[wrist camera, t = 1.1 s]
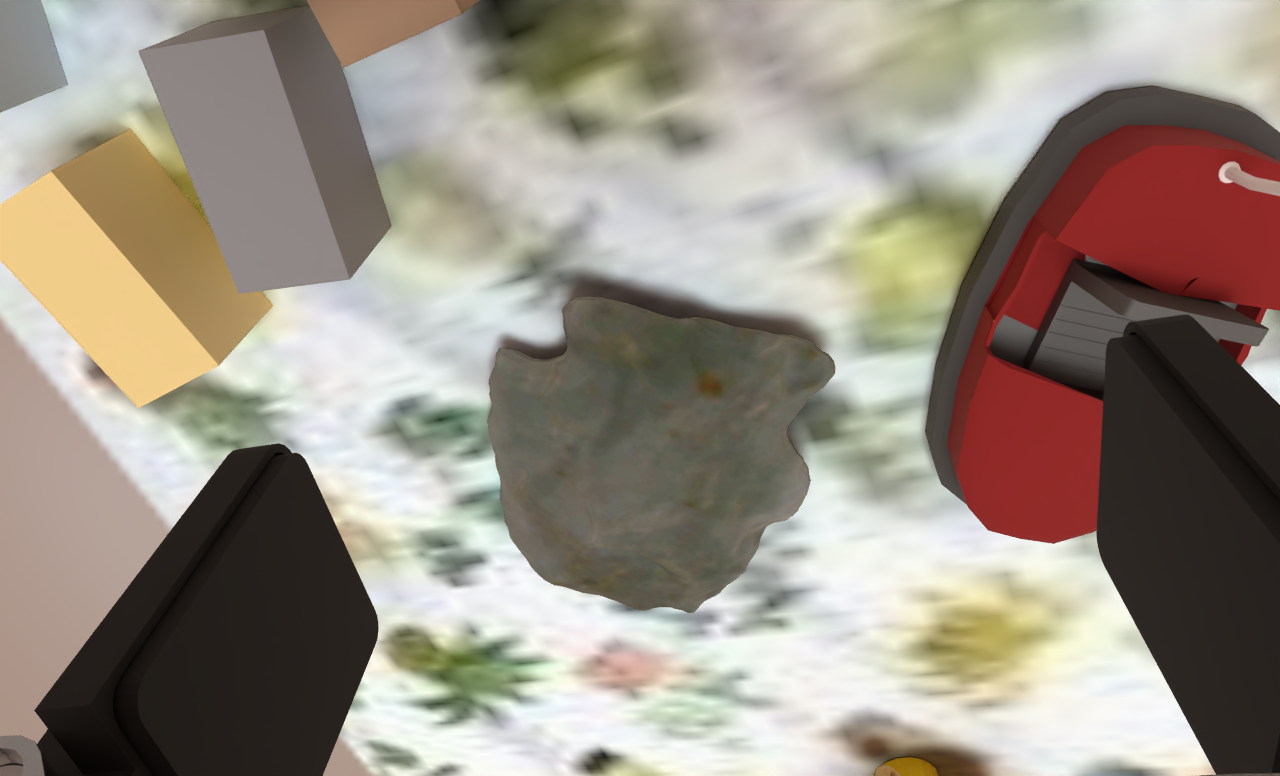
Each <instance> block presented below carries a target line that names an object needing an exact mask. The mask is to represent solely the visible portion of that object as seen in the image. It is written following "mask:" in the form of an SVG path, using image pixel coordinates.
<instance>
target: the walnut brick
mask: <svg viewBox="0 0 1280 776" xmlns="http://www.w3.org/2000/svg"><path fill="white" fill-rule="evenodd" d="M478 1H479V0H307V2H308V4H309V6H310V8H311V9H312V11H313V13H314V15H315V17H316V19H317V20H318V22H319V24H320V26H321V28H322V30H323V31H324V33H325V35H326V37H327V39H328V40H329V42H330V44H331V46H332V48H333V50H334V51H335V53H336V55H337V57H338V59H339V61H340V62H341V64H342V66H343V68H344V67H346V66H348V65H350V64H353V63H355V62H357V61H359V60H361V59H364V58H366V57H368V56H370V55H372V54H375V53H377V52H379V51H381V50H383V49H386V48H388V47H390V46H392V45H395V44H397V43H399V42H401V41H403V40H406V39H408V38H410V37H412V36H414V35H417V34H419V33H421V32H423V31H425V30H428V29H430V28H432V27H434V26H436V25H439V24H441V23H443V22H445V21H447V20H450V19H452V18H454V17H456V16H458V15H461V14H462V13H464V12H465V11H466V10H467V9H469V8H470V7H471V6H473V5H474V4H475V3H476V2H478Z"/></svg>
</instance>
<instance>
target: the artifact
mask: <svg viewBox="0 0 1280 776" xmlns="http://www.w3.org/2000/svg"><path fill="white" fill-rule="evenodd" d="M562 313H563V327H564V331H565V334H566V339H567V350H566V352H565V353H564V354H563V355H562V356H558V357H555V358H551V359H537V358H532V357H530V356H528V355H526V354H523V353H521V352H519V351H517V350H515V349H504V348H500V349H499V351H498V352H497V354H496V365H495V367H494V369H493V371H492V373H491V376H490V379H489V385H490V393H489V395H490V399H491V401H492V408H491V411H490V415H489V418H488V421H487V422H488V429H489V434H490V438H491V442H492V446H493V450H494V452H495V461H496V467H497V470H498V473H499V475H500V480H501V494H500V501H501V503H502V505H503V507H504V516H505V523H506V525H507V527H508V530H509V534H510V538H511V539H512V541H513V542H514V543H515V545H516V546H517V547H518V549H519V550H520V551H521V553H522V554H523V555H524V557H525V558H526V559H527V561H528V562H529V564H530V566H531V567H532V568H533V569H534V571H535V572H537V573H538V574H539V575H540V576H541V577H542V578H543V579H544V580H546V581H547V582H549V583H551V584H553V585H557V586H563V587H567V588H570V589H573V590H576V591H579V592H582V593H588V594H595V595H600V596H603V597H606V598H609V599H612V600H615V601H618V602H620V603H622V604H624V605H627V606H630V607H632V608H635V609H638V610H649V609H652V608H656V607H672V608H675V609H679V610H683V611H685V612H687V613H694V612H695V611H696V610H697V609H698V608H699V606H700V605H701V604H702V603H703V602H704V601H706V600H707V599H709V598H711V597H714V596H716V595H717V594H719V593H720V592H721V591H722V589H723V588H725V587H726V585H728V584H729V583H731V582H733V581H734V580H736V579H737V578H738V577H739V576H740V575H741V574H743V573H744V572H745V571H746V567H747V565H748V563H749V562H750V560H751V559H752V557H753V556H754V554H755V552H756V551H757V549H758V546H759V542H760V538H761V536H762V534H763V532H764V530H765V528H766V527H767V526H768V525H770V524H772V523H774V522H781V521H785V520H787V519H789V518H790V517H791V516H793V515H794V514H795V513H796V512H797V511H798V509H799V507H800V506H801V504H802V503H803V500H804V498H805V496H806V494H807V492H808V489H809V485H810V481H811V480H810V476H809V469H808V466H807V465H806V463H805V462H804V460H803V458H802V457H801V456H800V455H799V454H798V453H797V451H796V450H795V448H794V447H793V445H792V444H791V442H790V440H789V439H788V436H787V430H788V425H789V423H790V422H791V421H792V420H793V419H794V418H795V416H796V415H797V413H798V412H799V411H800V409H801V408H802V407H803V406H804V405H805V404H806V402H807V400H808V399H809V398H810V397H811V396H812V395H813V394H814V393H816V392H817V391H819V390H820V389H822V388H823V387H824V386H825V385H826V384H827V383H828V381H829V380H830V379H831V378H832V377H833V375H834V374H835V364H834V361H833V359H832V358H831V357H830V356H829V354H827V353H825V352H823V351H822V350H820V349H818V348H817V347H816V346H815V345H814V343H813V342H812V341H810V340H808V339H805V338H802V337H798V336H795V335H792V334H780V335H776V334H773V333H770V332H767V331H764V330H757V329H750V328H744V327H737V326H732V325H729V324H725V323H722V322H719V321H716V320H713V319H708V318H702V317H692V318H683V319H679V318H672V317H668V316H665V315H661V314H658V313H655V312H652V311H649V310H646V309H643V308H641V307H638V306H635V305H632V304H628V303H624V302H620V301H616V300H613V299H609V298H602V297H588V296H585V297H578V298H576V299H574V300H571V301H570V302H569V304H568V305H566V306H565V307H564V308H563V309H562Z"/></svg>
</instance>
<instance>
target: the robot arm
mask: <svg viewBox="0 0 1280 776" xmlns="http://www.w3.org/2000/svg"><path fill="white" fill-rule="evenodd" d="M1097 543H1098V548H1099V553H1100V556H1101V559H1102V562H1103V564H1104V566H1105V568H1106V570H1107V572H1108V574H1109V575H1110V577H1111V579H1112V581H1113V583H1114V585H1115V587H1116V588H1117V590H1118V592H1119V594H1120V596H1121V598H1122V600H1123V602H1124V603H1125V605H1126V607H1127V609H1128V611H1129V613H1130V615H1131V616H1132V618H1133V620H1134V622H1135V624H1136V626H1137V628H1138V630H1139V631H1140V633H1141V635H1142V637H1143V639H1144V641H1145V643H1146V644H1147V646H1148V648H1149V650H1150V652H1151V654H1152V656H1153V657H1154V659H1155V661H1156V663H1157V665H1158V667H1159V669H1160V671H1161V672H1162V674H1163V676H1164V678H1165V680H1166V682H1167V684H1168V685H1169V687H1170V689H1171V691H1172V693H1173V695H1174V697H1175V698H1176V700H1177V702H1178V704H1179V706H1180V708H1181V710H1182V712H1183V713H1184V715H1185V717H1186V719H1187V721H1188V723H1189V725H1190V726H1191V728H1192V730H1193V732H1194V734H1195V736H1196V738H1197V739H1198V741H1199V743H1200V745H1201V747H1202V749H1203V751H1204V753H1205V754H1206V756H1207V758H1208V760H1209V762H1210V764H1211V766H1212V767H1213V769H1214V771H1215V773H1216V775H1201V776H1280V405H1279V404H1278V403H1277V402H1276V401H1275V400H1274V399H1273V398H1272V397H1271V396H1270V395H1269V394H1268V393H1267V392H1266V391H1265V390H1264V389H1263V388H1262V387H1261V386H1260V385H1259V383H1258V382H1257V381H1256V380H1255V379H1254V378H1253V377H1252V376H1251V375H1250V374H1249V373H1248V372H1247V371H1246V370H1245V369H1244V368H1243V367H1242V366H1241V365H1240V364H1239V363H1238V362H1237V361H1236V360H1235V359H1234V358H1233V357H1232V356H1231V355H1230V354H1229V353H1228V352H1227V351H1226V350H1225V349H1224V348H1223V347H1222V346H1221V345H1220V344H1219V343H1218V342H1217V341H1216V340H1215V339H1214V338H1213V337H1212V336H1211V335H1210V334H1209V333H1208V332H1207V331H1206V330H1205V329H1204V328H1203V327H1202V326H1201V325H1200V324H1199V323H1198V322H1197V321H1196V320H1195V319H1194V318H1193V317H1191V316H1190V315H1189V314H1183V315H1176V316H1169V317H1162V318H1155V319H1148V320H1141V321H1134V322H1129V323H1128V324H1127V325H1126V327H1125V330H1124V332H1123V337H1116V338H1111V339H1110V340H1109V341H1108V344H1107V348H1106V360H1105V379H1104V398H1103V417H1102V436H1101V455H1100V474H1099V493H1098V512H1097ZM377 638H378V619H377V614H376V612H375V609H374V607H373V605H372V602H371V600H370V598H369V596H368V594H367V592H366V589H365V587H364V585H363V583H362V581H361V579H360V576H359V574H358V572H357V570H356V568H355V566H354V563H353V561H352V559H351V557H350V555H349V553H348V550H347V548H346V546H345V544H344V542H343V540H342V538H341V535H340V533H339V531H338V529H337V527H336V525H335V522H334V520H333V518H332V516H331V514H330V512H329V509H328V507H327V505H326V503H325V501H324V499H323V496H322V494H321V492H320V490H319V488H318V486H317V483H316V481H315V479H314V477H313V475H312V473H311V470H310V468H309V466H308V464H307V462H306V461H305V459H304V458H303V457H302V456H301V455H300V454H298V453H292V452H291V451H290V450H289V449H288V448H287V447H286V446H285V445H282V444H272V445H265V446H258V447H251V448H244V449H238V450H234V451H232V452H231V453H230V454H229V455H228V456H227V457H226V458H225V460H224V461H223V462H222V464H221V465H220V466H219V468H218V469H217V470H216V472H215V473H214V474H213V476H212V477H211V478H210V480H209V481H208V482H207V484H206V485H205V486H204V487H203V489H202V490H201V491H200V493H199V494H198V495H197V497H196V498H195V499H194V501H193V502H192V503H191V505H190V506H189V507H188V509H187V510H186V511H185V513H184V514H183V515H182V516H181V518H180V519H179V520H178V522H177V523H176V524H175V526H174V527H173V528H172V530H171V531H170V532H169V534H168V535H167V536H166V538H165V539H164V540H163V542H162V543H161V544H160V545H159V547H158V548H157V550H156V551H155V552H154V553H153V555H152V556H151V557H150V559H149V560H148V561H147V563H146V564H145V565H144V567H143V568H142V569H141V571H140V572H139V573H138V574H137V576H136V577H135V578H134V580H133V581H132V582H131V584H130V585H129V586H128V588H127V589H126V590H125V592H124V593H123V595H122V596H121V597H120V598H119V600H118V601H117V602H116V603H115V605H114V606H113V607H112V609H111V610H110V611H109V613H108V614H107V615H106V617H105V618H104V619H103V621H102V622H101V623H100V625H99V626H98V627H97V629H96V630H95V631H94V632H93V634H92V635H91V636H90V638H89V639H88V640H87V642H86V643H85V644H84V646H83V647H82V648H81V650H80V651H79V652H78V654H77V655H76V656H75V658H74V659H73V660H72V661H71V663H70V664H69V665H68V667H67V668H66V669H65V671H64V672H63V673H62V675H61V676H60V677H59V679H58V680H57V681H56V683H55V684H54V685H53V687H52V688H51V689H50V691H49V692H48V693H47V694H46V696H45V697H44V698H43V700H42V701H41V702H40V704H39V705H38V706H37V708H36V709H35V710H34V711H35V712H36V713H37V715H38V716H39V717H40V718H41V720H42V721H43V722H44V724H45V725H46V726H47V728H48V730H47V731H46V733H45V734H44V736H43V737H42V738H41V740H40V741H39V742H38V744H36V743H35V741H33V740H30V739H28V738H26V737H24V736H0V776H323V773H324V770H325V768H326V766H327V763H328V761H329V758H330V756H331V753H332V751H333V748H334V746H335V743H336V741H337V738H338V736H339V734H340V731H341V729H342V726H343V724H344V721H345V719H346V716H347V714H348V711H349V709H350V706H351V704H352V701H353V699H354V696H355V694H356V691H357V689H358V686H359V684H360V682H361V679H362V677H363V674H364V672H365V669H366V667H367V664H368V662H369V659H370V657H371V654H372V652H373V649H374V647H375V644H376V641H377Z"/></svg>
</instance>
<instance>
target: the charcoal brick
mask: <svg viewBox="0 0 1280 776" xmlns="http://www.w3.org/2000/svg"><path fill="white" fill-rule="evenodd" d="M138 52H139V54H140V56H141V59H142V61H143V64H144V66H145V69H146V71H147V73H148V76H149V78H150V81H151V83H152V86H153V88H154V90H155V93H156V95H157V98H158V100H159V102H160V105H161V107H162V110H163V112H164V115H165V117H166V119H167V122H168V124H169V127H170V129H171V131H172V134H173V136H174V139H175V141H176V144H177V146H178V148H179V151H180V153H181V156H182V158H183V160H184V163H185V165H186V168H187V170H188V173H189V175H190V177H191V180H192V182H193V185H194V187H195V189H196V192H197V194H198V197H199V199H200V202H201V204H202V206H203V209H204V211H205V214H206V216H207V218H208V221H209V223H210V226H211V228H212V231H213V233H214V235H215V238H216V240H217V243H218V245H219V248H220V250H221V252H222V255H223V257H224V260H225V262H226V264H227V267H228V269H229V272H230V274H231V277H232V279H233V281H234V284H235V286H236V289H237V291H238V293H239V294H241V293H249V292H257V291H264V290H272V289H280V288H287V287H295V286H303V285H310V284H318V283H326V282H333V281H341V280H349V279H351V277H352V276H353V275H354V273H355V272H356V271H357V270H358V268H359V267H360V266H361V264H362V263H363V262H364V261H365V259H366V258H367V257H368V255H369V254H370V253H371V252H372V250H373V249H374V248H375V247H376V245H377V244H378V243H379V241H380V240H381V239H382V238H383V236H384V235H385V234H386V232H387V231H388V230H389V229H390V227H391V223H390V220H389V216H388V213H387V210H386V207H385V204H384V200H383V197H382V194H381V191H380V187H379V184H378V181H377V178H376V175H375V171H374V168H373V165H372V162H371V159H370V155H369V152H368V149H367V146H366V142H365V139H364V136H363V133H362V130H361V126H360V123H359V120H358V117H357V114H356V110H355V107H354V104H353V101H352V97H351V94H350V91H349V88H348V85H347V81H346V78H345V75H344V72H343V69H342V65H341V62H340V61H339V59H338V57H337V55H336V53H335V51H334V50H333V48H332V46H331V44H330V42H329V40H328V39H327V37H326V35H325V33H324V31H323V30H322V28H321V26H320V24H319V22H318V20H317V19H316V17H315V15H314V13H313V11H312V9H311V8H310V6H309V5H307V6H301V7H295V8H289V9H283V10H278V11H272V12H266V13H260V14H254V15H249V16H243V17H237V18H231V19H225V20H220V21H214V22H210V23H208V24H205V25H203V26H200V27H198V28H195V29H193V30H190V31H188V32H185V33H183V34H180V35H178V36H175V37H173V38H170V39H168V40H165V41H163V42H160V43H158V44H155V45H153V46H150V47H148V48H145V49H143V50H140V51H138Z"/></svg>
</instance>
